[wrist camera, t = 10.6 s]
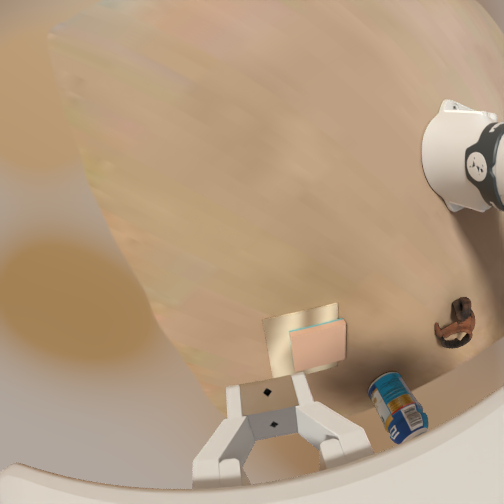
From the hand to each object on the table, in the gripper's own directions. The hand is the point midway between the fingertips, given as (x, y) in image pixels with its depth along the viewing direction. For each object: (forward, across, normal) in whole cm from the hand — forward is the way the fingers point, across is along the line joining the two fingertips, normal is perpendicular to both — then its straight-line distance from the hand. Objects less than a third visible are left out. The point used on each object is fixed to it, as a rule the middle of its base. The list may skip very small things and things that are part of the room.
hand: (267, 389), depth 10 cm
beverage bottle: (+29, -24, +42) cm, 57 cm away
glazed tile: (+28, -14, +24) cm, 39 cm away
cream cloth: (+29, -7, +24) cm, 38 cm away
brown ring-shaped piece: (+30, -40, +28) cm, 57 cm away
